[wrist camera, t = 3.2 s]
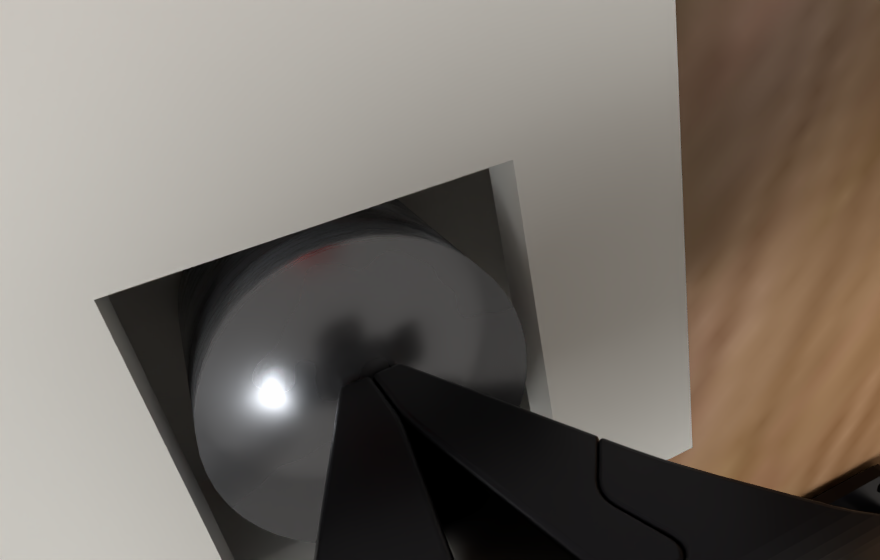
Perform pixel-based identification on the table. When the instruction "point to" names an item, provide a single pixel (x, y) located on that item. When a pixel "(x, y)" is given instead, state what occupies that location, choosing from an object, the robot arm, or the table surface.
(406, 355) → the plug
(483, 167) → the console
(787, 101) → the table surface
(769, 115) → the table surface
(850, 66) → the table surface
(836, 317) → the table surface
